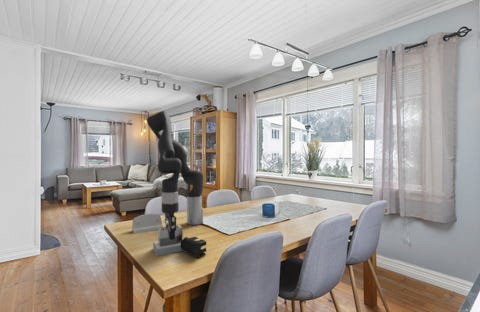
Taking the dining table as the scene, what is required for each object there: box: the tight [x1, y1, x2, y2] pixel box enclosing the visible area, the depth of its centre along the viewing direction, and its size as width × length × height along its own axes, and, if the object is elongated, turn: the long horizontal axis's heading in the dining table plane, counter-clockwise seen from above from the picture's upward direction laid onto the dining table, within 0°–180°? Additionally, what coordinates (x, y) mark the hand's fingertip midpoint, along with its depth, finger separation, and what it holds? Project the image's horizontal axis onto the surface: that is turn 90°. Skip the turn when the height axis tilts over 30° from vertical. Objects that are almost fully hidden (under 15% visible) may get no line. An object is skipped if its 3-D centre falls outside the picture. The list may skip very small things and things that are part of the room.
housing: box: [157, 224, 184, 247], centre depth 116 cm, size 5×10×8 cm, turn 117°
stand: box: [152, 241, 184, 257], centre depth 116 cm, size 14×9×3 cm, turn 117°
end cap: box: [181, 236, 207, 259], centre depth 110 cm, size 10×7×7 cm
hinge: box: [131, 213, 164, 234], centre depth 145 cm, size 17×5×10 cm, turn 121°
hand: (170, 236), depth 116 cm, fingers open, 8 cm apart
